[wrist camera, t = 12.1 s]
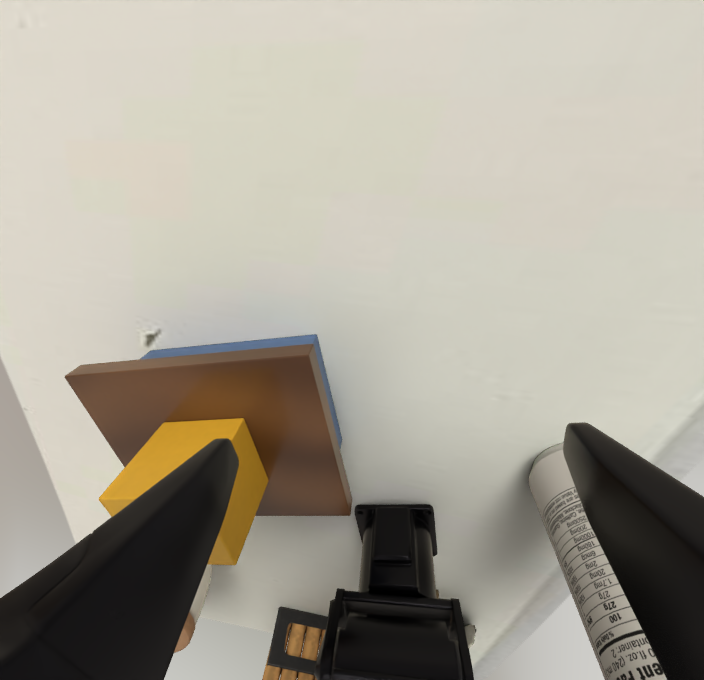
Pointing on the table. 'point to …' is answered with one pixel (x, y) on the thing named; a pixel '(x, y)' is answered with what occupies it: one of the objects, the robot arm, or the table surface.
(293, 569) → the table surface
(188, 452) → the yellow block
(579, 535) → the energy drink can
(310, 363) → the board
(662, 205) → the table surface
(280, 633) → the ammunition clip
